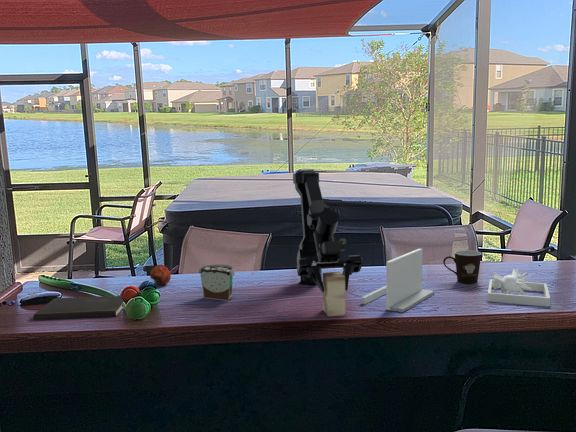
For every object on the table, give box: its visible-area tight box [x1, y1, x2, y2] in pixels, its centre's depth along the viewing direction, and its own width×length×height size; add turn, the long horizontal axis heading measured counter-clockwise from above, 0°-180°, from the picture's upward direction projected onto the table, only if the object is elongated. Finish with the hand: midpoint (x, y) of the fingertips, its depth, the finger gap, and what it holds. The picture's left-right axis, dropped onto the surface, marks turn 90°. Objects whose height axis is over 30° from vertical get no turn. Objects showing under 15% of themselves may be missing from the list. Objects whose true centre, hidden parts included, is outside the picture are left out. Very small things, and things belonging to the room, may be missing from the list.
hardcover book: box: [33, 295, 124, 321], centre depth 158 cm, size 16×23×2 cm
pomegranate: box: [149, 264, 172, 286], centre depth 184 cm, size 7×7×10 cm
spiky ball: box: [489, 267, 533, 296], centre depth 162 cm, size 11×12×8 cm
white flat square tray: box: [487, 279, 551, 308], centre depth 160 cm, size 17×17×2 cm
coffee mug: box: [442, 249, 482, 285], centre depth 178 cm, size 12×9×10 cm
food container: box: [198, 264, 236, 302], centre depth 167 cm, size 12×6×10 cm, turn 65°
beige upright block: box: [322, 271, 346, 317], centre depth 149 cm, size 6×5×11 cm
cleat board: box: [360, 248, 435, 313], centre depth 160 cm, size 14×22×14 cm, turn 142°
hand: (335, 291), depth 147 cm, fingers open, 6 cm apart
